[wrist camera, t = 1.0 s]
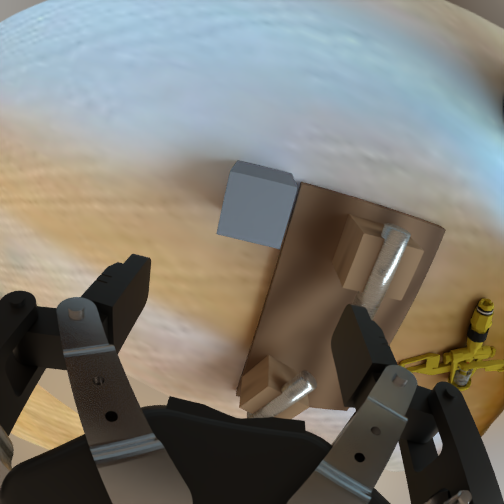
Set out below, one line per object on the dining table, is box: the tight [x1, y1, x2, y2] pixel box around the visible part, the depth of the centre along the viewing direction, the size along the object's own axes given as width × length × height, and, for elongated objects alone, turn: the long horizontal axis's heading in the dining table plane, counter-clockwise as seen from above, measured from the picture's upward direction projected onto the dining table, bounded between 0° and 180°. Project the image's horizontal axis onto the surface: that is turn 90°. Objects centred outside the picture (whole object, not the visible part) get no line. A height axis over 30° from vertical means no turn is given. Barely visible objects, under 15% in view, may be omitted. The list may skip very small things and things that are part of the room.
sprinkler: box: [399, 298, 504, 391], centre depth 34 cm, size 19×4×15 cm
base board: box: [236, 182, 445, 419], centre depth 32 cm, size 16×28×6 cm, turn 167°
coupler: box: [217, 160, 298, 249], centre depth 26 cm, size 5×5×6 cm
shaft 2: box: [352, 223, 411, 320], centre depth 26 cm, size 2×9×2 cm, turn 167°
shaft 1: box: [247, 371, 317, 418], centre depth 32 cm, size 2×9×2 cm, turn 142°
